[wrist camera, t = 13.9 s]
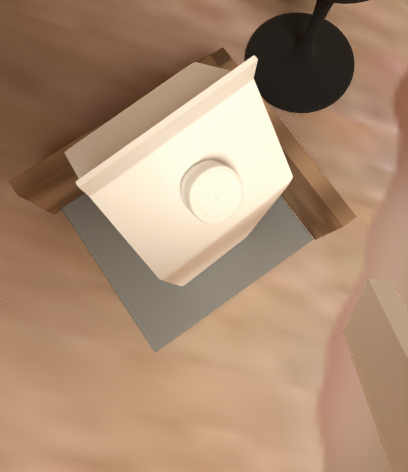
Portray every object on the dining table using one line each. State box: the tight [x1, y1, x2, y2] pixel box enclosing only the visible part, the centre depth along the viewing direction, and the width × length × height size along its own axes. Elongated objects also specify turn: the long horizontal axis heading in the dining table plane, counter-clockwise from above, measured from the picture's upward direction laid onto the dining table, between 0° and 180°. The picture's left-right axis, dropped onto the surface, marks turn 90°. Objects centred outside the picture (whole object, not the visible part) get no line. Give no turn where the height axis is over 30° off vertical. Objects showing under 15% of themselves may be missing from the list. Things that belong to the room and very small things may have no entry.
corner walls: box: [9, 48, 356, 239], centre depth 27 cm, size 16×19×6 cm
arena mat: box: [61, 193, 313, 352], centre depth 30 cm, size 15×16×1 cm
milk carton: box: [64, 55, 293, 286], centre depth 20 cm, size 7×7×19 cm
